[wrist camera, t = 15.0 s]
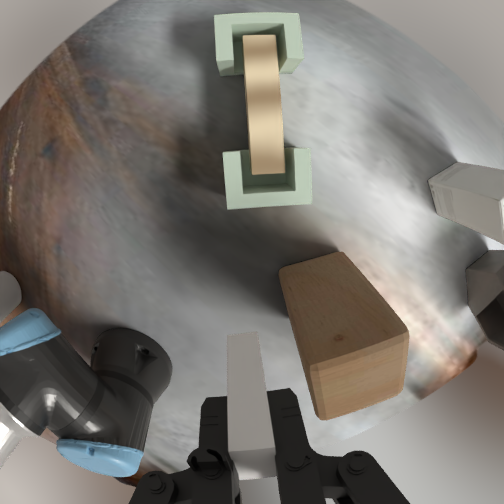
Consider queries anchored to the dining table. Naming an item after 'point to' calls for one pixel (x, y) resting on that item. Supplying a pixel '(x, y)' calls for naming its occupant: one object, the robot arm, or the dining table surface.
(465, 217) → the skincare box
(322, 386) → the wooden block
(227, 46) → the end caps
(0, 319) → the can
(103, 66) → the dining table surface
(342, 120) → the dining table surface
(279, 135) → the slat
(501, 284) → the planter
